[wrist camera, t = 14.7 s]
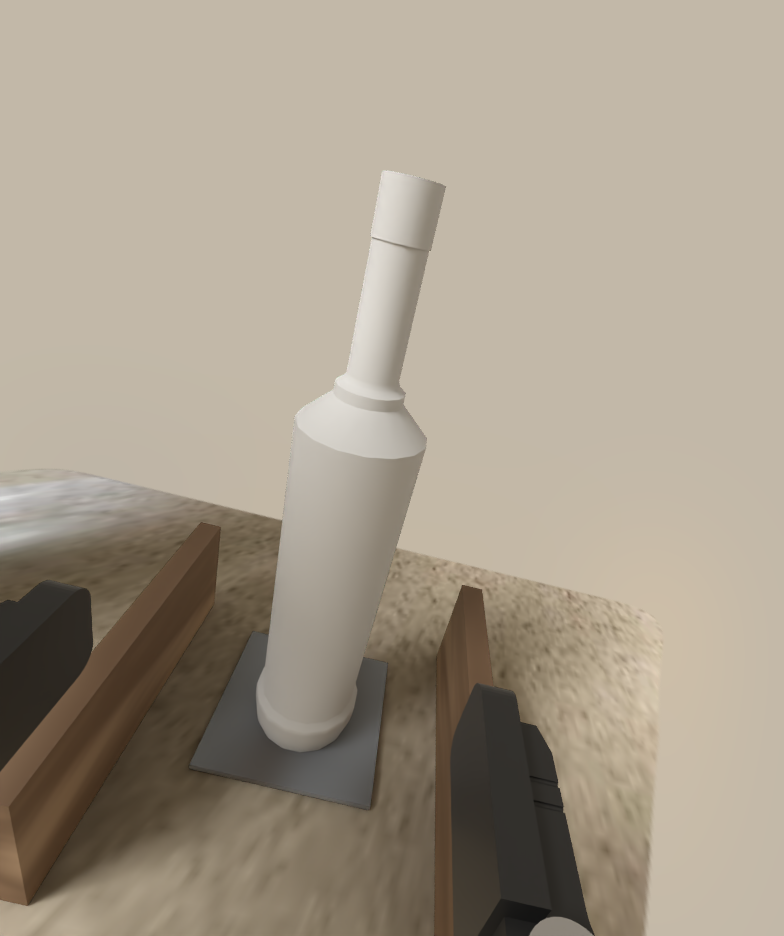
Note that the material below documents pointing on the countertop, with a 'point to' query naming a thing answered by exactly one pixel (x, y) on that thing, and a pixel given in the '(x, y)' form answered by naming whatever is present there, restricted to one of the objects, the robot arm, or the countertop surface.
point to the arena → (213, 724)
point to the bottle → (348, 489)
